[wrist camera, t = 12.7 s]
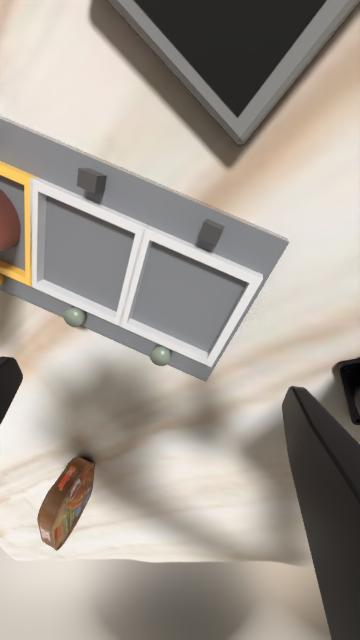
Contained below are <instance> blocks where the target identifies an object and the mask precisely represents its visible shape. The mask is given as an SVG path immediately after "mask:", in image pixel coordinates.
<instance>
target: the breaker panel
mask: <svg viewBox="0 0 360 640" xmlns="http://www.w3.org/2000/svg"><path fill="white" fill-rule="evenodd" d="M0 189H1V190H2V191H3V192H4V193H5V194H6V195H7V196H8V198H9V199H10V200H11V202H12V203H13V205H14V207H15V209H16V211H17V214H18V216H19V220H20V226H21V234H20V238H19V241H18V242H17V244H16V245H15V246H13V247H12V248H9V249H6V250H3V251H0V289H1V290H3V291H5V292H8V293H10V294H12V295H14V296H17V297H19V298H21V299H23V300H25V301H28V302H30V303H32V304H34V305H37V306H39V307H41V308H43V309H45V310H48V311H50V312H52V313H54V314H57V315H59V316H61V317H63V318H64V320H65V321H66V323H67V324H68V325H70V326H72V327H78V326H80V325H81V326H83V327H85V328H88V329H90V330H92V331H94V332H97V333H99V334H101V335H103V336H106V337H108V338H110V339H112V340H114V341H117V342H119V343H121V344H123V345H126V346H128V347H130V348H132V349H134V350H137V351H139V352H141V353H143V354H146V355H148V356H150V357H151V360H152V362H153V363H155V364H156V365H159V366H165V365H167V364H168V365H170V366H172V367H174V368H177V369H179V370H181V371H183V372H186V373H188V374H190V375H192V376H194V377H197V378H199V379H201V380H203V381H207V379H208V377H209V376H210V374H211V372H212V371H213V369H214V367H215V366H216V364H217V362H218V361H219V359H220V357H221V356H222V354H223V352H224V351H225V349H226V347H227V346H228V344H229V342H230V341H231V339H232V337H233V336H234V334H235V332H236V331H237V329H238V327H239V326H240V324H241V322H242V321H243V319H244V317H245V315H246V314H247V312H248V310H249V309H250V307H251V305H252V304H253V302H254V300H255V299H256V297H257V295H258V294H259V292H260V290H261V289H262V287H263V285H264V284H265V282H266V280H267V279H268V277H269V275H270V274H271V272H272V270H273V269H274V267H275V265H276V264H277V262H278V260H279V259H280V257H281V255H282V254H283V252H284V250H285V249H286V247H287V245H288V243H289V241H288V239H287V238H285V237H282V236H280V235H278V234H275V233H273V232H271V231H268V230H266V229H264V228H261V227H259V226H257V225H254V224H252V223H250V222H247V221H245V220H242V219H240V218H238V217H235V216H233V215H231V214H228V213H226V212H224V211H221V210H219V209H217V208H214V207H212V206H210V205H207V204H205V203H203V202H200V201H198V200H196V199H193V198H191V197H189V196H186V195H184V194H182V193H179V192H177V191H175V190H172V189H170V188H168V187H165V186H163V185H161V184H158V183H156V182H154V181H151V180H149V179H147V178H144V177H142V176H140V175H137V174H135V173H132V172H130V171H128V170H125V169H123V168H121V167H118V166H116V165H114V164H111V163H109V162H107V161H104V160H102V159H100V158H97V157H95V156H93V155H90V154H88V153H86V152H83V151H81V150H79V149H76V148H74V147H72V146H69V145H67V144H65V143H62V142H60V141H58V140H55V139H53V138H51V137H48V136H46V135H44V134H41V133H39V132H37V131H34V130H32V129H29V128H27V127H25V126H22V125H20V124H18V123H15V122H13V121H11V120H8V119H6V118H4V117H1V116H0Z"/></svg>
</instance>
